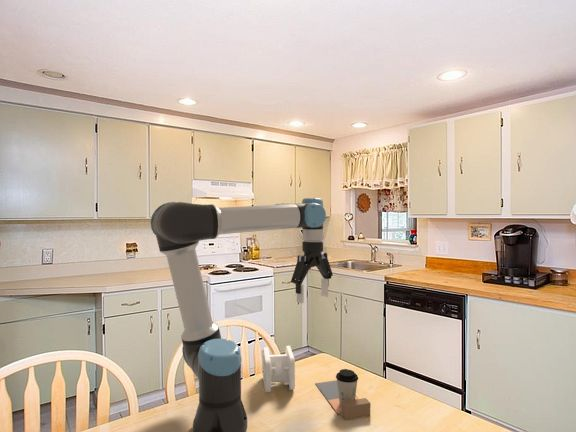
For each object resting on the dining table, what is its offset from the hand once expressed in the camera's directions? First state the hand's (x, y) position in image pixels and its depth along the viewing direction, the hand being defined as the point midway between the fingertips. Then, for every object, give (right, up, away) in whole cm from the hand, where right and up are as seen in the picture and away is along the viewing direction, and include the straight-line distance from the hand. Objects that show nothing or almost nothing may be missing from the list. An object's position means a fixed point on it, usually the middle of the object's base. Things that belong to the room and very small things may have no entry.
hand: (312, 299), depth 136 cm
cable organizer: (-13, -29, -5) cm, 32 cm away
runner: (+9, -29, -15) cm, 34 cm away
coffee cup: (+9, -29, -19) cm, 36 cm away
